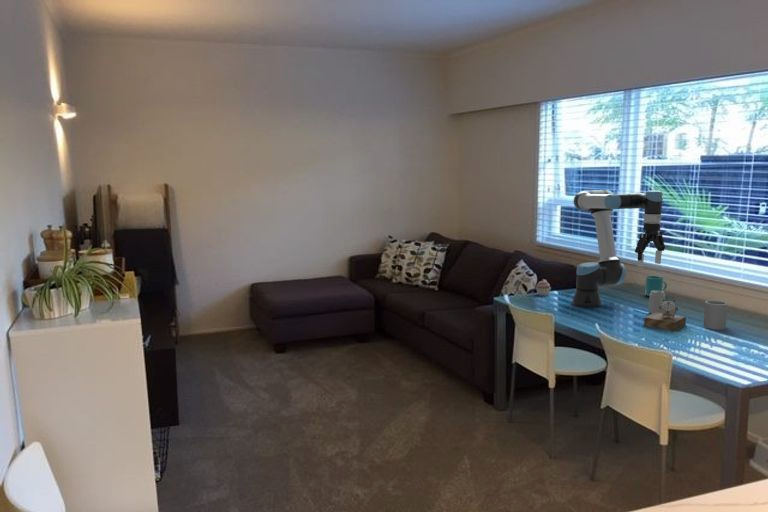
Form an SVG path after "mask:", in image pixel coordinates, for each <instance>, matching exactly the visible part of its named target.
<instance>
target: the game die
mask: <svg viewBox="0 0 768 512" xmlns="http://www.w3.org/2000/svg"><path fill="white" fill-rule="evenodd" d="M663 301H664V299H663ZM659 309H661V311H662V314H663V315H662V317H663V316H673V318H674V315H676V313H677V312H678V311H679V308H678V307H677V306H676V300H674V301H671V300H670V301H669V300H665V301H664V302H663V303H662V305H661V306H660V307H659Z"/></svg>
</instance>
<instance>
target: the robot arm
mask: <svg viewBox="0 0 768 512" xmlns="http://www.w3.org/2000/svg"><path fill="white" fill-rule="evenodd" d="M663 200H664V199H663V192H662V191H661V190H646V192H645V193H642V192H633V193H613V192H612V191H611V190H607V189H598V190H597V189H595V190H581V191H579V192H578V193H577V194H575V195H574V197H573V205H574V207H575V208H576V209H577V210H579V211H582V212H590V214H591V215H590V216H591V217H593V218H594V224H595V231H596V239H597V246H598V253H599V260H598V261H597V262H596V261H595V262H594V261H592V262H589V261H588V262H583V263H582V262H581V263H579V264H578V265H577V267H576V273H575V274H576V277H575V279H576V281H575V282H576V283H575V285H576V286H575V288H576V289H575V293H574V296H573V297H572V298H573V299H572V305H573V306H574V307H579V308H585V309H586V308H587V309H588V308H590V309H591V308H592V309H593V308H599V307H601V306H602V300H601V297H600V293H599V287H600V286H601V287H603V286H604V287H605V286H617V285H621V284H623V283H624V281H625V280H626V276H627V269H626V266H625V265H624V264H623V263H621V259H620V258H618V257H617V251H616V245H615V237H614V231H613V225H612V218H611V217H612V215H613V213H614V210H624V209H625V210H628V209H629V210H631V209H642V210H643V209H644V214H643V231H644V232H641V233H640V234H639V237H638V238H639V239H638V241H637V244H636V246H635V250H634V253H636V254H637V263H636V264H637V265H636V266H637V267H640V268H644V261H645V259H644V257H645V253H644V252H645V250H646V249H647V247H648V245H649V244H650V243H651V242H653V244H654V247H655V249H656V250H655V257H654V263H655V264H658V265H661V264H662V255H663V254H662V253H663V252H664V251H665V250H666V244H665V241H664V237H663V231H662V230H661V220H662V208H663Z"/></svg>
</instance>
